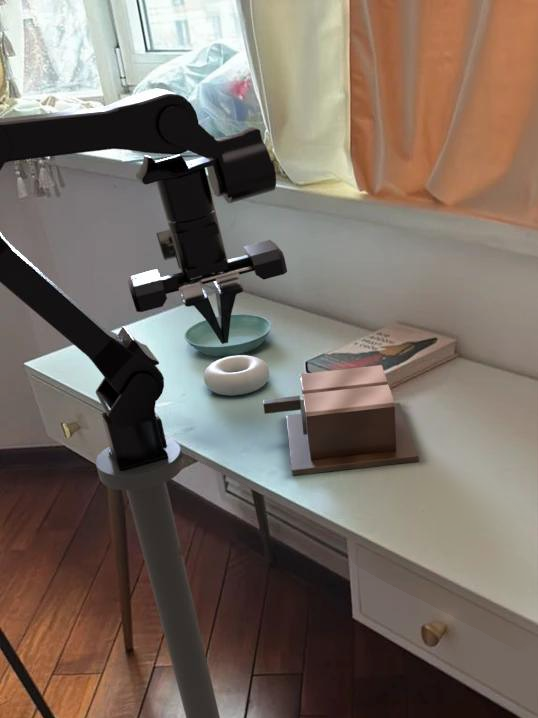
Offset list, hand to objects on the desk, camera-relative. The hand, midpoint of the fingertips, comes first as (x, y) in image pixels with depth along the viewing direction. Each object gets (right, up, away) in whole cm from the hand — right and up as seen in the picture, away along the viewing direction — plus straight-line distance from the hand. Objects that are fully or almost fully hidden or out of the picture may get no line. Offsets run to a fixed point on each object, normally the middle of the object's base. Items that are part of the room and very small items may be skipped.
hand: (224, 342), depth 108 cm
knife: (+13, -11, +4) cm, 17 cm away
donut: (-1, 0, +22) cm, 22 cm away
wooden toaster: (+16, -11, +5) cm, 20 cm away
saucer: (-4, +10, +36) cm, 38 cm away
